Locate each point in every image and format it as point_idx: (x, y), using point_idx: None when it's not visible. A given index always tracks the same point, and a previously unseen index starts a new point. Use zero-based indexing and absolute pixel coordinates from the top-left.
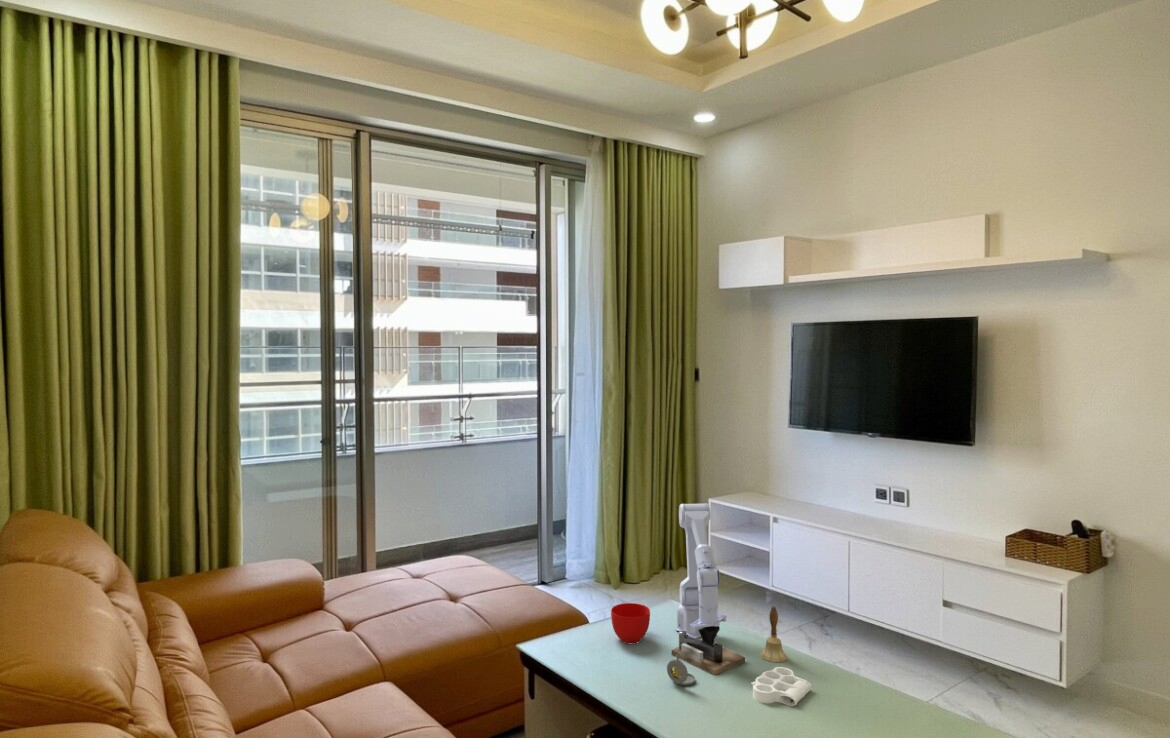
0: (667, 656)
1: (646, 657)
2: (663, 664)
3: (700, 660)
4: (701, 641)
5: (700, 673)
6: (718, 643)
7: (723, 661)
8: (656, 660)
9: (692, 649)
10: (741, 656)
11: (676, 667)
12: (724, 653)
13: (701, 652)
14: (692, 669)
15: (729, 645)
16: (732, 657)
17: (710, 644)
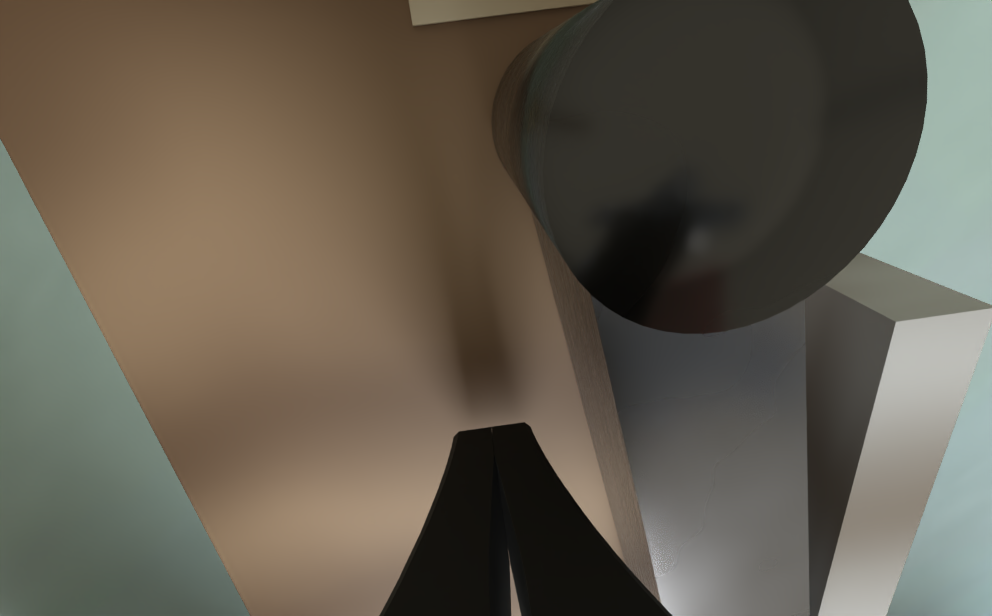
0: None
1: (939, 609)
2: (975, 469)
3: None
4: (708, 614)
5: (928, 79)
6: (599, 282)
7: (487, 62)
8: (938, 547)
9: (924, 487)
10: None
11: None
12: (266, 309)
13: (948, 317)
14: (889, 237)
15: (21, 515)
16: (212, 105)
17: (687, 432)
